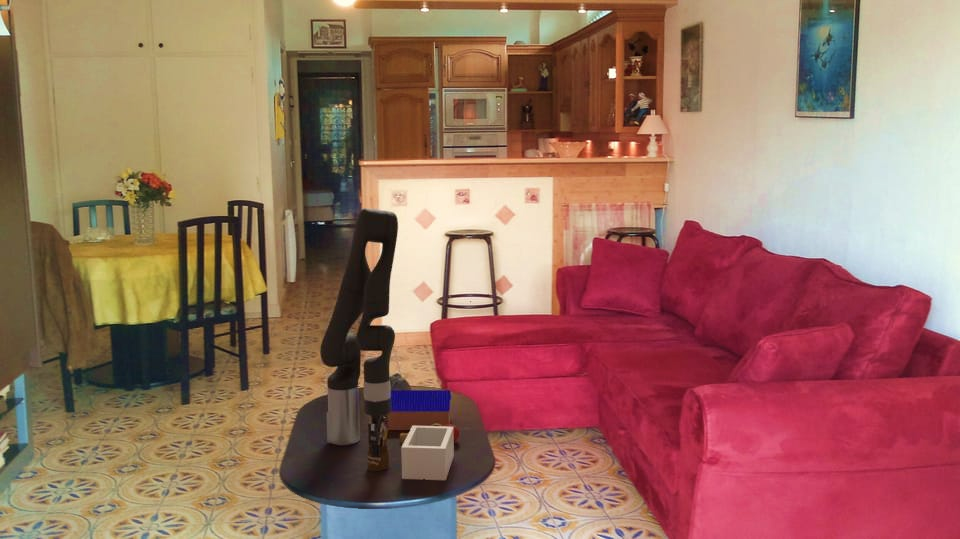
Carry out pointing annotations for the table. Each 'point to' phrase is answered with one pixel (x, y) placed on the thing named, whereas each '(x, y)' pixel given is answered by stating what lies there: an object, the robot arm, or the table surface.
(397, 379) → the mineral rock
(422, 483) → the table surface
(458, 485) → the table surface
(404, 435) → the kendama
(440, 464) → the open rectangular box
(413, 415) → the house
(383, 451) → the utensil holder
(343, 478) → the table surface
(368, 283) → the robot arm
